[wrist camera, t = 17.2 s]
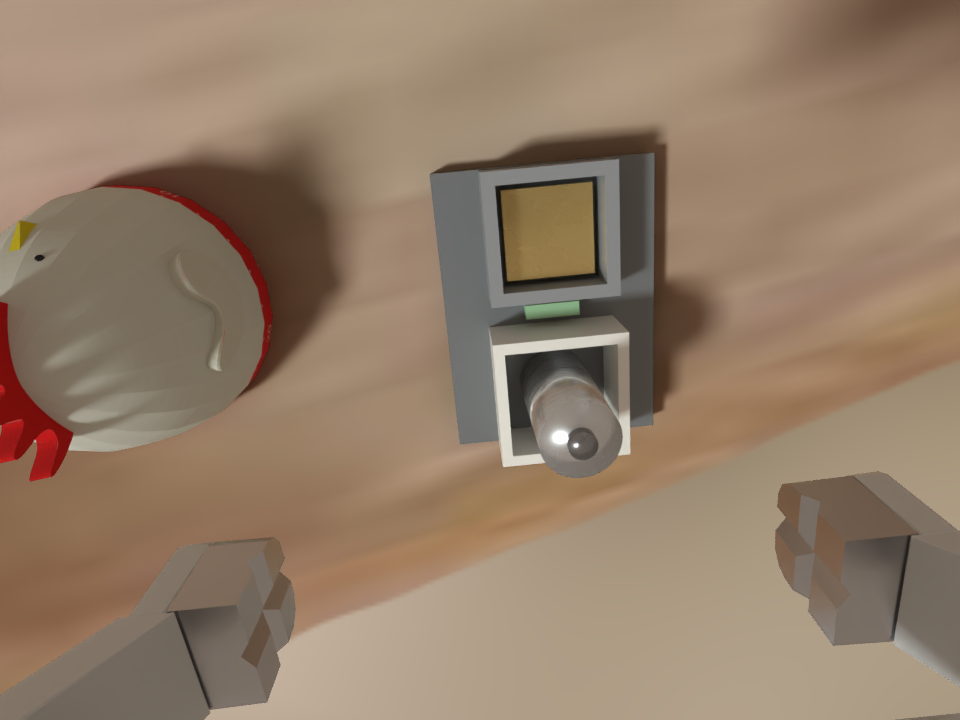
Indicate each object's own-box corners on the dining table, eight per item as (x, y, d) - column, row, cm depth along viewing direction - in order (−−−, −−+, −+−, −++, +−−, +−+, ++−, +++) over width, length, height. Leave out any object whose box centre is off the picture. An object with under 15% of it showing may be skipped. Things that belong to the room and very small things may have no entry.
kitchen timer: (223, 159, 33) (48, 167, 19) (303, 389, 37) (212, 538, 23) (-21, 218, 33) (-375, 270, 19) (87, 438, 38) (-132, 613, 24)
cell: (585, 344, 36) (625, 402, 28) (587, 406, 37) (626, 479, 29) (517, 351, 36) (538, 412, 27) (522, 413, 37) (543, 488, 29)
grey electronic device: (647, 152, 33) (677, 153, 29) (647, 416, 39) (672, 451, 34) (430, 173, 33) (426, 177, 29) (460, 435, 39) (460, 472, 34)
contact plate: (589, 181, 32) (592, 181, 32) (592, 270, 34) (594, 273, 33) (499, 189, 32) (500, 190, 31) (506, 279, 34) (507, 281, 33)
